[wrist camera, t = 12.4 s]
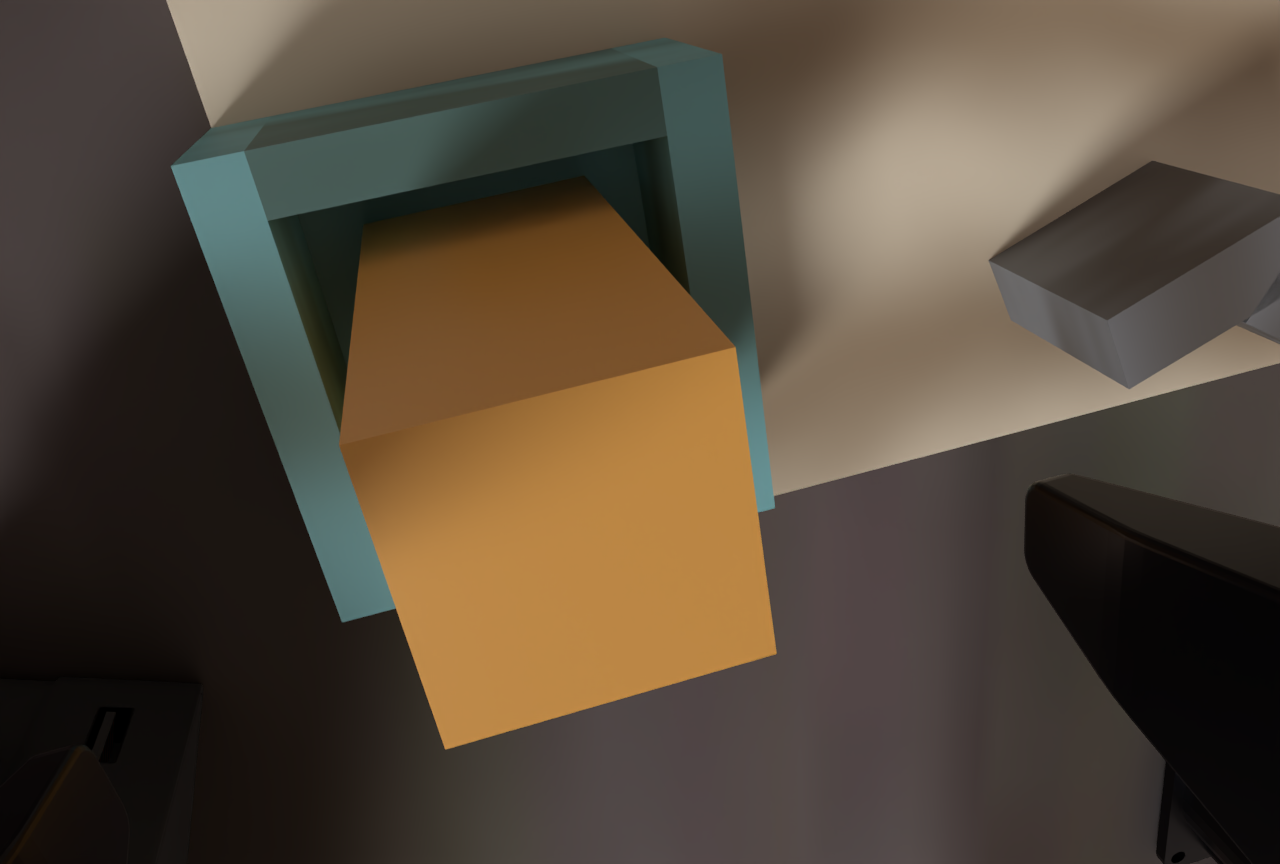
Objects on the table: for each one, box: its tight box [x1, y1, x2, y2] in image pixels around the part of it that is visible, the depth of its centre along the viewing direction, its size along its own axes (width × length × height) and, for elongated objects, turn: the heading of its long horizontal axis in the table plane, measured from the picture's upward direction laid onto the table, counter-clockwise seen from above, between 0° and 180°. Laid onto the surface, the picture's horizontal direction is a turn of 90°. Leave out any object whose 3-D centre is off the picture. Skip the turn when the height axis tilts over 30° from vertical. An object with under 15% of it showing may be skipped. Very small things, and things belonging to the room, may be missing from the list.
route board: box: [167, 0, 1280, 622], centre depth 18 cm, size 17×30×5 cm, turn 99°
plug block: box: [339, 176, 777, 750], centre depth 15 cm, size 4×4×9 cm
